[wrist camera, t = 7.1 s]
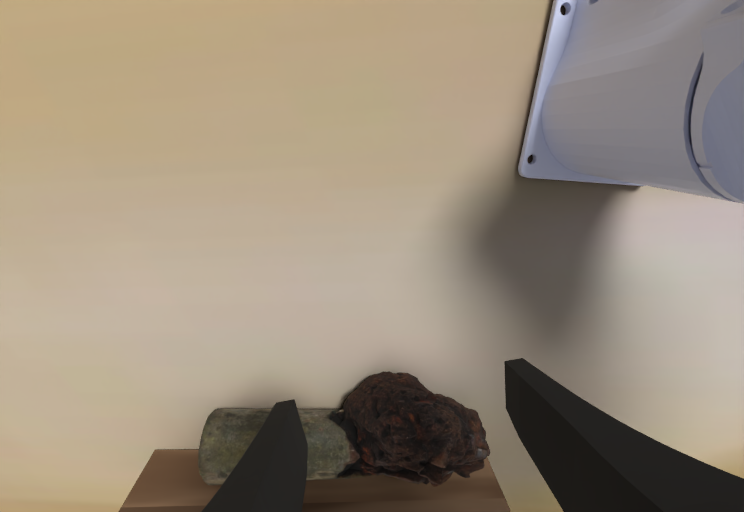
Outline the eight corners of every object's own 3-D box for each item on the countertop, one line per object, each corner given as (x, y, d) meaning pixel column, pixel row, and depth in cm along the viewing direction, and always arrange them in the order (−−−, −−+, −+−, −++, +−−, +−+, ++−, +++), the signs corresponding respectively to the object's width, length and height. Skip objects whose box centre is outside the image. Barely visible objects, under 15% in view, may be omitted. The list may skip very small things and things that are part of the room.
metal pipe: (228, 445, 25) (197, 527, 20) (216, 367, 23) (177, 437, 18) (466, 433, 27) (496, 508, 21) (476, 358, 24) (512, 421, 19)
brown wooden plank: (155, 449, 25) (112, 521, 20) (482, 447, 27) (510, 510, 22) (159, 475, 25) (119, 550, 21) (476, 470, 28) (502, 536, 23)
